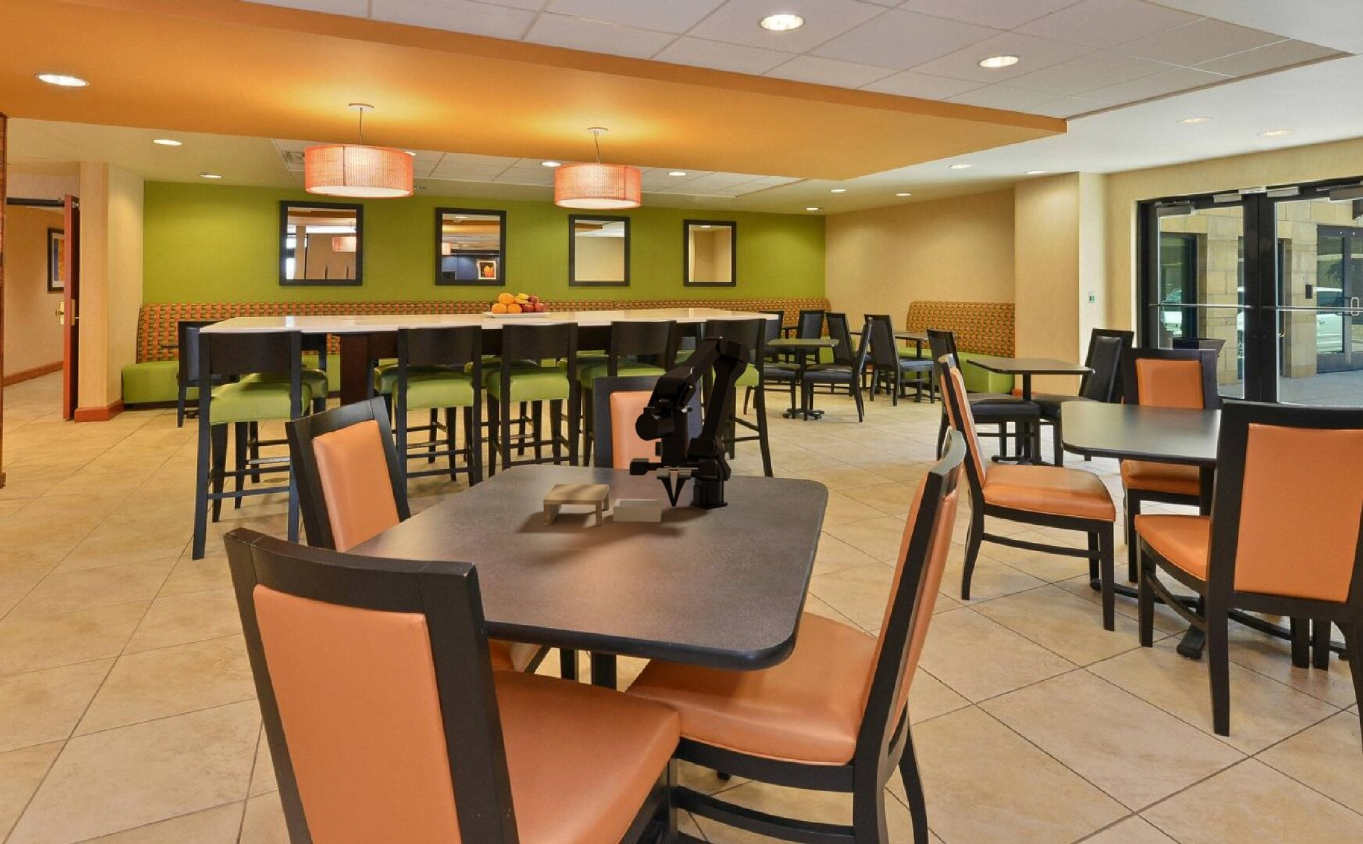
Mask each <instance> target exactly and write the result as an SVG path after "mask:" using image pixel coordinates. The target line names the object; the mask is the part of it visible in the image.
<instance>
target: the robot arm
mask: <svg viewBox="0 0 1363 844" xmlns="http://www.w3.org/2000/svg"><path fill="white" fill-rule="evenodd" d="M751 355H752V354H751V350H750V348H749V347H748V346H747V344H746V343H744V342H736V341H732V340H729V339H727V338H725V337H722V336H706V337H703V338H702V340H701V343H700V344H699V345H698V346H697V347H696V348H695V349H694V351H693V352H692V353H691V354H690V355H689V356H688V357H687V358H686V359H685V361H684V362H682V363H681V364H680V366H678V367H677V368H674V369H671V370H668V371H666V372H665V373H663V374H662V375H660V377H658V379H657V380H656V383H655V385H654V387H653V388H654V389H653V391H652V393H651V395H650V397H649V400H648V403H647V405H646V406H645V407H643V408H642V413H641V414H640V415H639V416H638V417H637V419H636V421H635V423H634V430H635V432H636V434H637V437H639V439H641V440H643V441H645V442H650V441H654V440H657V439H660V441H655V442H654V444H655V446H654V456H655V457H660V461H659V462H658V461H657V462H655V461H653V462H652V461H651V462H650V457H649V458H648V457H633V458H632V459H631V461H630V462H629V476H645V475H646V474H647V473H648V472H656V480H658V481H661V483H662V484H663V486H664V489H665V490H666V493H667V496H668V499H669V502H670V505H671V507H673V508H674V507H676V506H677V503H678V502H679V501H678V500H679V497H680V495H681V491H682V489H683V487H684V486H685V483H686V481H690V480H692V479H694V485H693V486H692V491H693V492H692V500H690V504H693V505H695V506H698V507H701V508H703V509H711V508H717V507H724V506H728V505H729V502H727V501H725V482H728V481H729V480H730V479H731V476H732V474H731V473H732V468H731V467H730V465H729V464H728V462H727V460H726V459H725V458H726V449H725V445H724V442H723V437H724V436H723V434H724V431H725V427H726V423H727V418H728V414H729V411H730V406H731V402H732V400H733V399H732V398H733V394H734V391H735V386H736V382H737V381H738V380H739V379H740V378H741V377H742V376H743V375H744V374H745V372H746V370H747V368H748V365H749V362H750V360H751ZM711 366H712V369H713V372H714V374H715V376H714V381H713V384H712V387H711V388H712V389H711V392H710V397H709V400H708V401H709V402H708V403H707V404H708V405H707V408H706V412H705V416H704V421H703V424H702V428H701V432H700V433H699V435H698V436H697V437H691V439H690V440H689V445H688V436H689V435H688V432H689V431H688V429H689V426H688V425H689V423H688V421H689V420H688V419H689V418H688V415H689V413H692V412H693V410H694V409H693V407H691V405H690V404H688V403H690V401H691V400H692V398H693V397H694V395H695V394H696V391H697V383H698V381H699V380H700V379H701V378H702V376H703V375H704V374H705V373H706V372H707V371H708V370H709V368H711ZM672 472H677V474H676V479H675V489H673V481H672V480H673V479H672Z"/></svg>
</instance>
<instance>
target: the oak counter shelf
mask: <svg viewBox="0 0 1363 844" xmlns="http://www.w3.org/2000/svg"><path fill="white" fill-rule="evenodd" d="M542 503H543V505H542V506H543V526H551V524H552V523H553V521H554V520H555V519H556V517H557V516H558V514H559V512H561V509H562V507H563V506H562V505H567V506H568V505H573V506H574V505H577V506H579V505H580V506H583V505H584V506H585V505H586V506H587V505H588V506H595V527H602V526H603V510H604V511H608V510H610V484H590V483H589V484H587V483H585V484H581V483H580V484H579V483H578V484H577V483H575V484H574V483H573V484H572V483H556V484H554V486H553V487H552V489H550V490H549V492H548V493H547V494H546V495H545V497H544V498H543V500H542Z"/></svg>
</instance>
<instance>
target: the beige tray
mask: <svg viewBox="0 0 1363 844" xmlns="http://www.w3.org/2000/svg"><path fill="white" fill-rule="evenodd" d="M662 506H663V500H662V499H648V498H647V499H645V498H644V499H640V498H638V499H637V498H635V499H634V498H631V499H630V498H629V499H628V498H627V499H626V498H621V499H620V498H617V499H615V502H614V504H613V506H612V510H613V511H612V513H613V514H612V515H613V518H612V520H613V522H644V523H645V522H649V523H650V522H651V523H654V522H655V523H657V522H659V523H660V522H661V520H662V515H663V514H662V513H663V507H662Z"/></svg>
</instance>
